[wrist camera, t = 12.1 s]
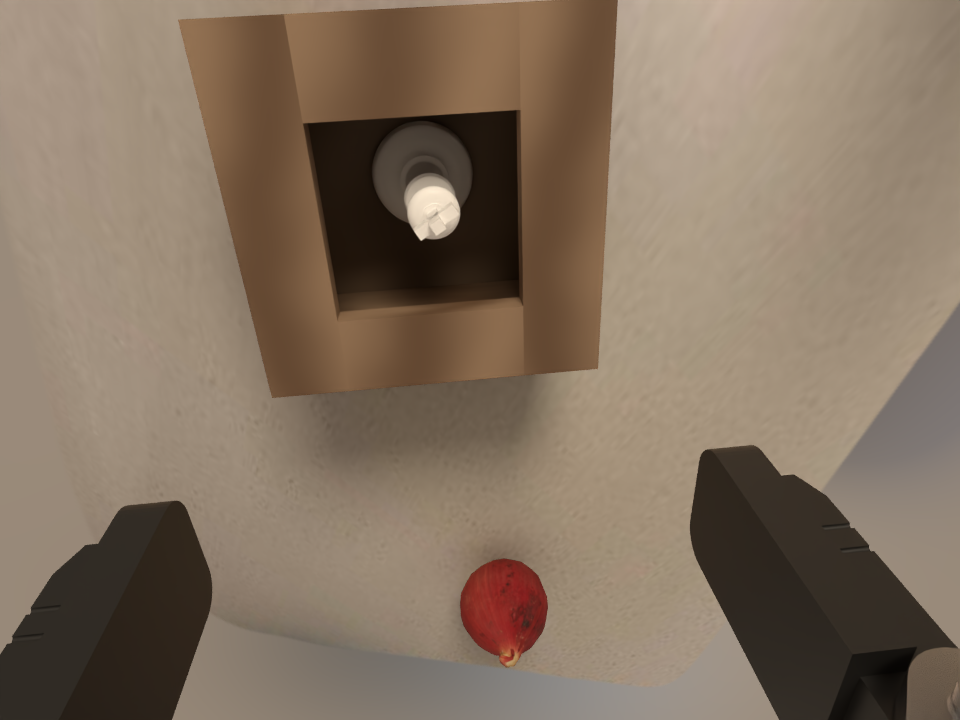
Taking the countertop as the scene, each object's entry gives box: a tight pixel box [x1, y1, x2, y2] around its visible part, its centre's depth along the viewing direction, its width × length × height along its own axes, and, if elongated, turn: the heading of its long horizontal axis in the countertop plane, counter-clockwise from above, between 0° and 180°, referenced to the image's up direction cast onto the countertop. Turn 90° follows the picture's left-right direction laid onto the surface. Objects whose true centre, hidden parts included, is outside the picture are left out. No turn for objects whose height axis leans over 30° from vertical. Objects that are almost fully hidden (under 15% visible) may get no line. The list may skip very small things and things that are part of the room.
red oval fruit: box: [460, 559, 548, 668], centre depth 41 cm, size 6×6×8 cm
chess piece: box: [372, 121, 473, 241], centre depth 26 cm, size 5×5×10 cm
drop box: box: [178, 0, 618, 398], centre depth 27 cm, size 14×14×9 cm
